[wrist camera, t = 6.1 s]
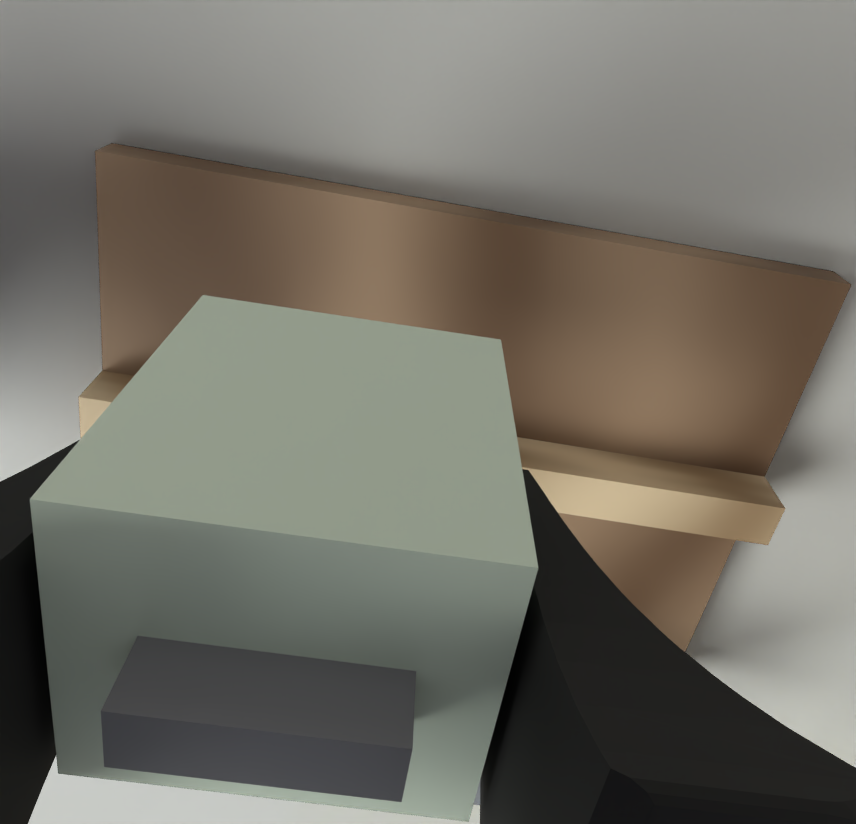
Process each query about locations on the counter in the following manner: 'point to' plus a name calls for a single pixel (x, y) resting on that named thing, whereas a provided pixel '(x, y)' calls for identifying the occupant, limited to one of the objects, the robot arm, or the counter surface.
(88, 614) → the cabinet block
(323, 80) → the counter surface
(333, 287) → the cleat board
